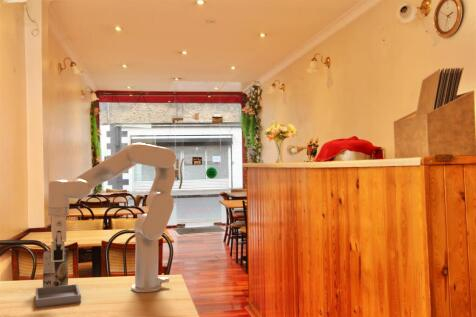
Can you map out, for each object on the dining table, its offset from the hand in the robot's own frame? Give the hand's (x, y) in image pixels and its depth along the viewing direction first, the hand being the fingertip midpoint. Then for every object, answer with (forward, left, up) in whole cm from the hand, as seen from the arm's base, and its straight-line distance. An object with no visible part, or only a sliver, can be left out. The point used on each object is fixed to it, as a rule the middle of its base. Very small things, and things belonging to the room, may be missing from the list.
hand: (57, 258), depth 173 cm
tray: (0, 0, -16) cm, 16 cm away
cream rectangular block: (0, 0, -1) cm, 1 cm away
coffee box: (0, -16, -16) cm, 23 cm away
